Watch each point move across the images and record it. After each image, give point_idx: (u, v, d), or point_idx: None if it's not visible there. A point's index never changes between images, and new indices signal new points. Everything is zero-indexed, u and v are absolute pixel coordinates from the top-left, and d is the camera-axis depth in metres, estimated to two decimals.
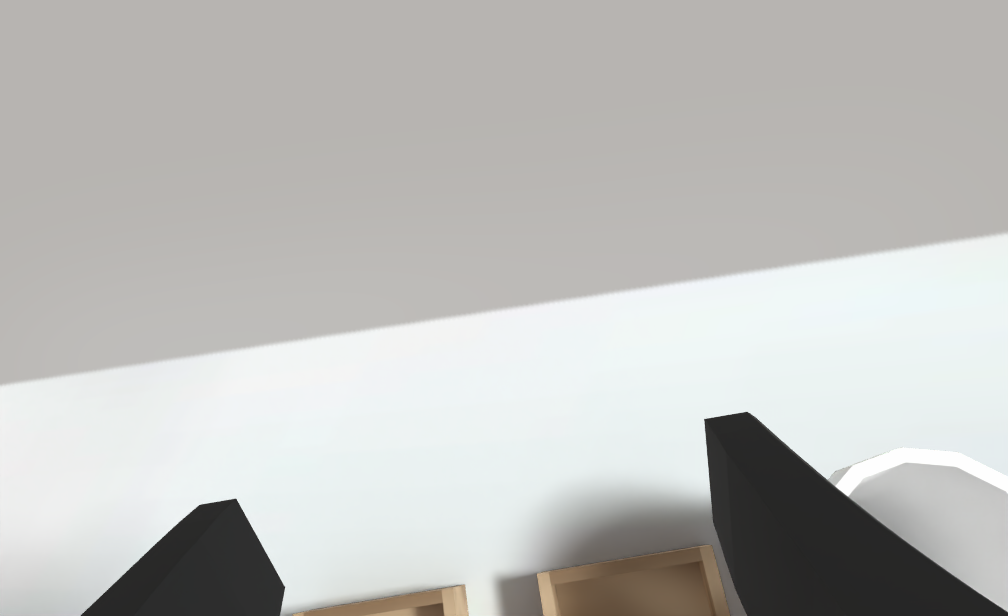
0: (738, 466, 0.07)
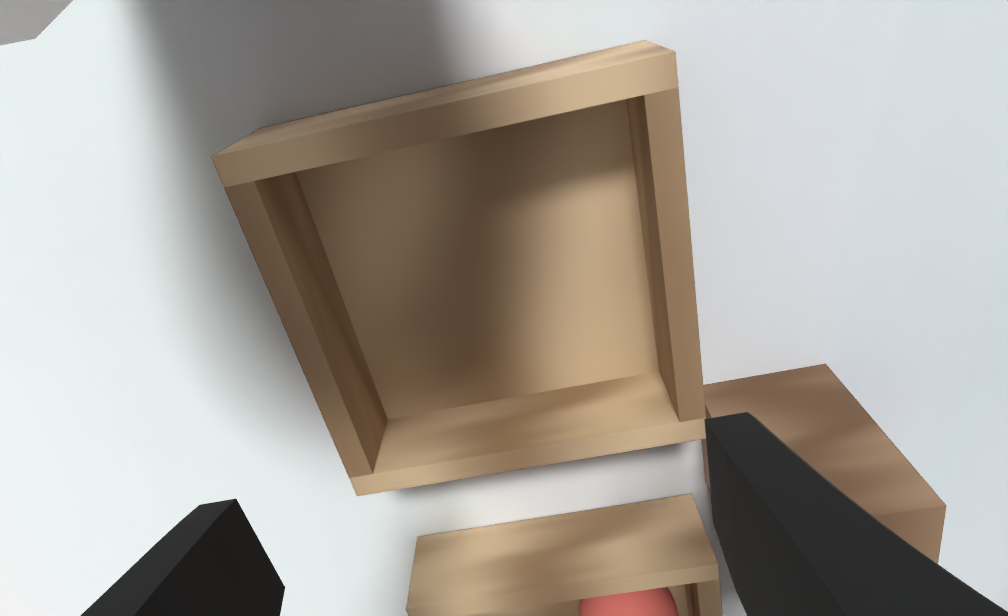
0: (738, 466, 0.07)
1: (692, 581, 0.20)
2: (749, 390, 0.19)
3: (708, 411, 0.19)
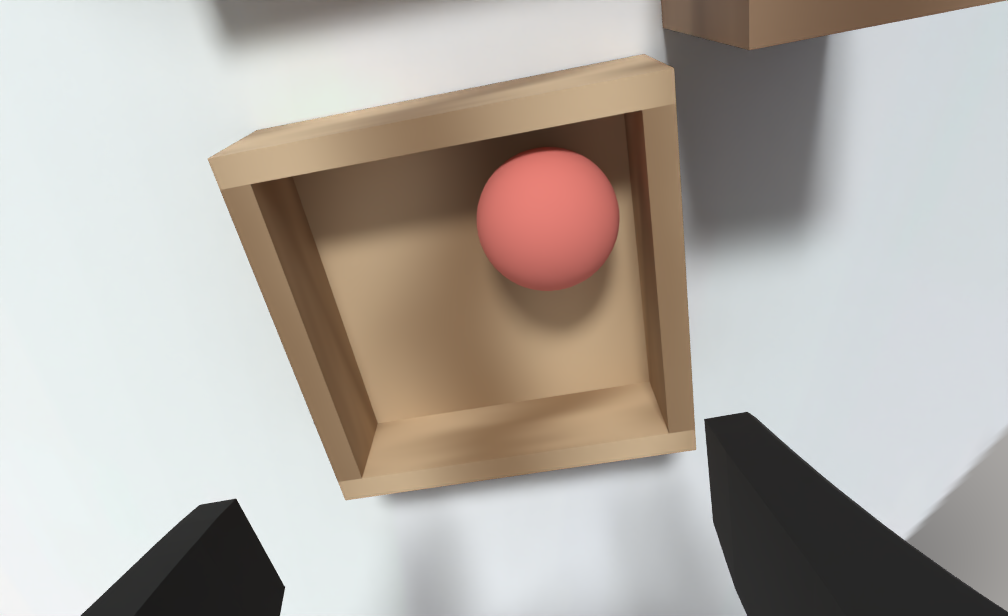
0: (738, 466, 0.07)
1: (635, 107, 0.13)
2: None
3: None
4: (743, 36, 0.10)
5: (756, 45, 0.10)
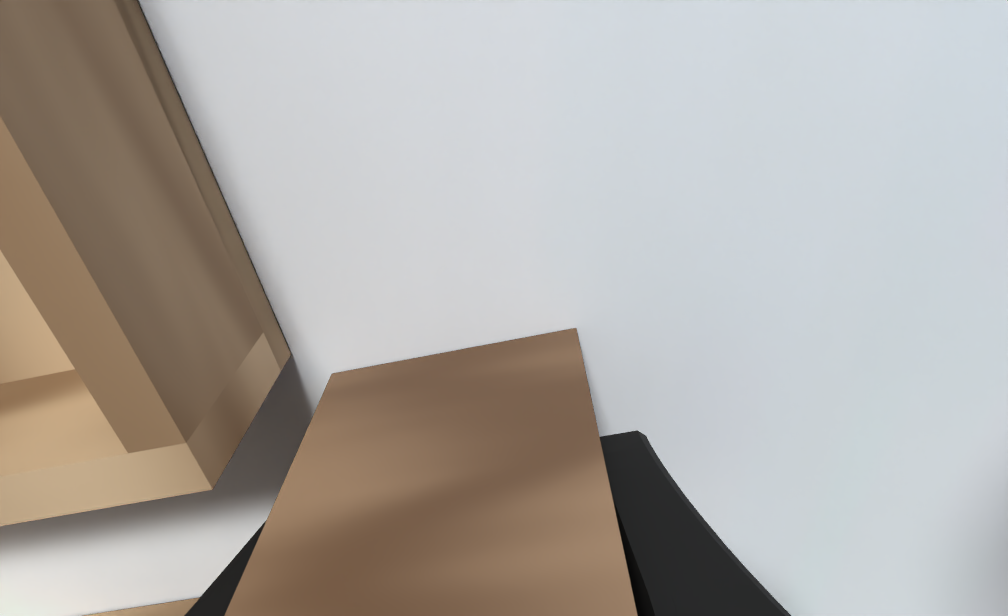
0: (610, 487, 0.08)
1: None
2: (410, 383, 0.09)
3: (312, 425, 0.09)
4: None
5: None
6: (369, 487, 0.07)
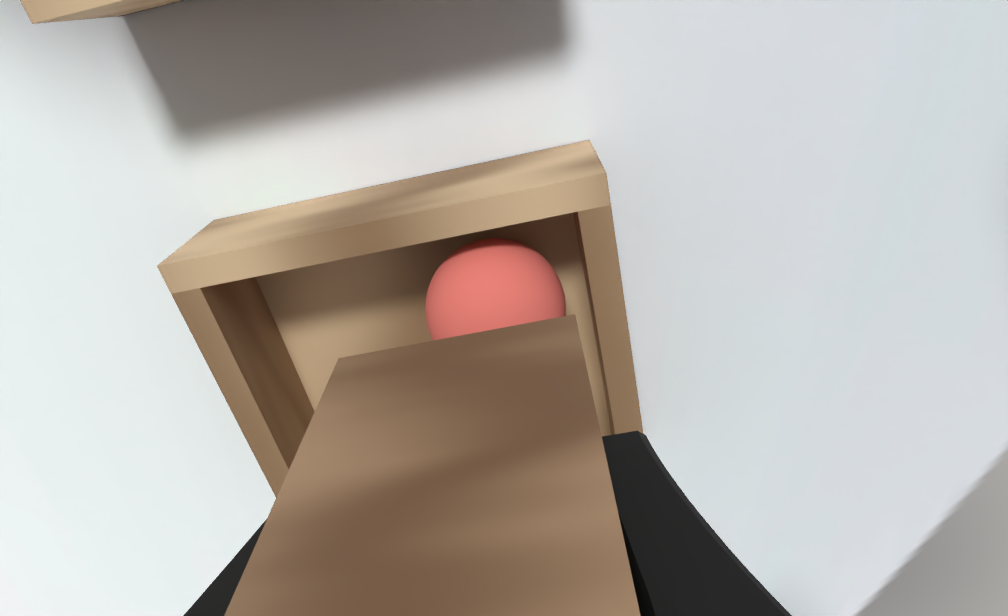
0: None
1: (571, 209, 0.13)
2: (414, 366, 0.10)
3: (320, 406, 0.09)
4: None
5: None
6: (376, 462, 0.08)
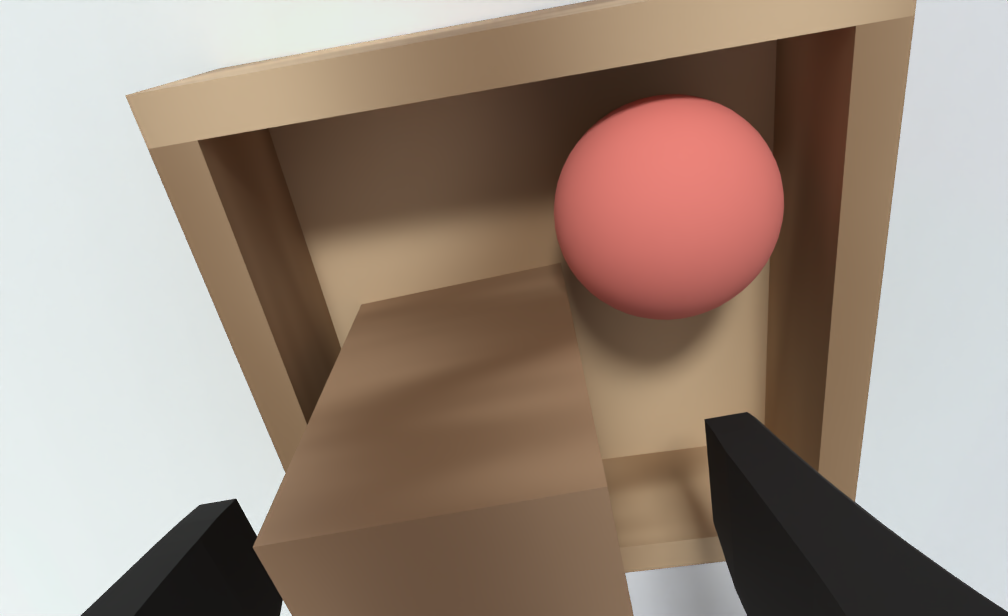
0: (738, 466, 0.07)
1: (845, 21, 0.08)
2: (426, 306, 0.12)
3: (348, 339, 0.11)
4: None
5: None
6: (397, 372, 0.10)
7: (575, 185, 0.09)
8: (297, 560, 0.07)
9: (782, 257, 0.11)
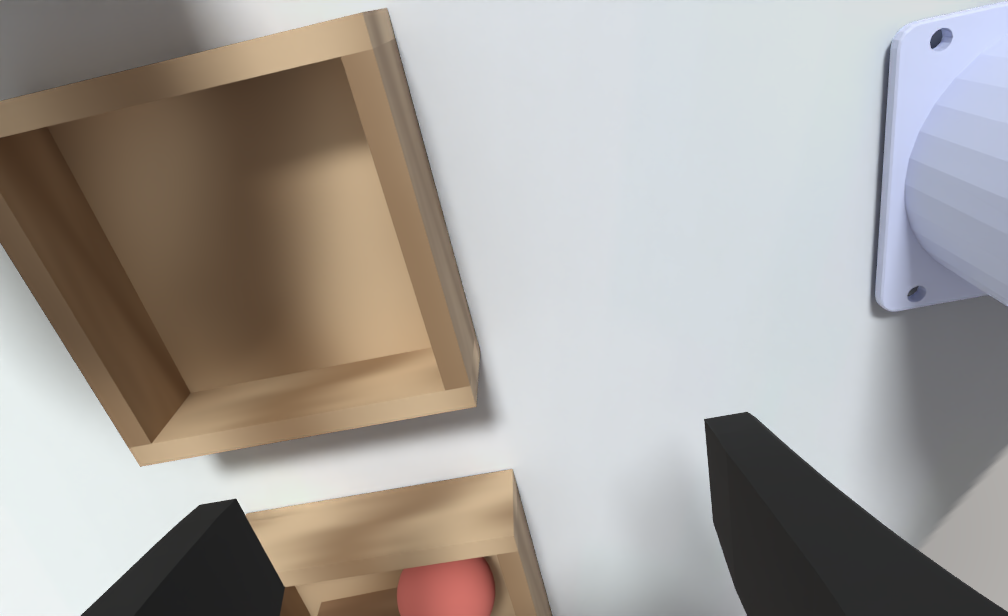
0: (738, 466, 0.07)
1: (492, 553, 0.20)
2: (350, 612, 0.24)
3: None
4: None
5: None
6: None
7: (400, 597, 0.21)
8: None
9: None
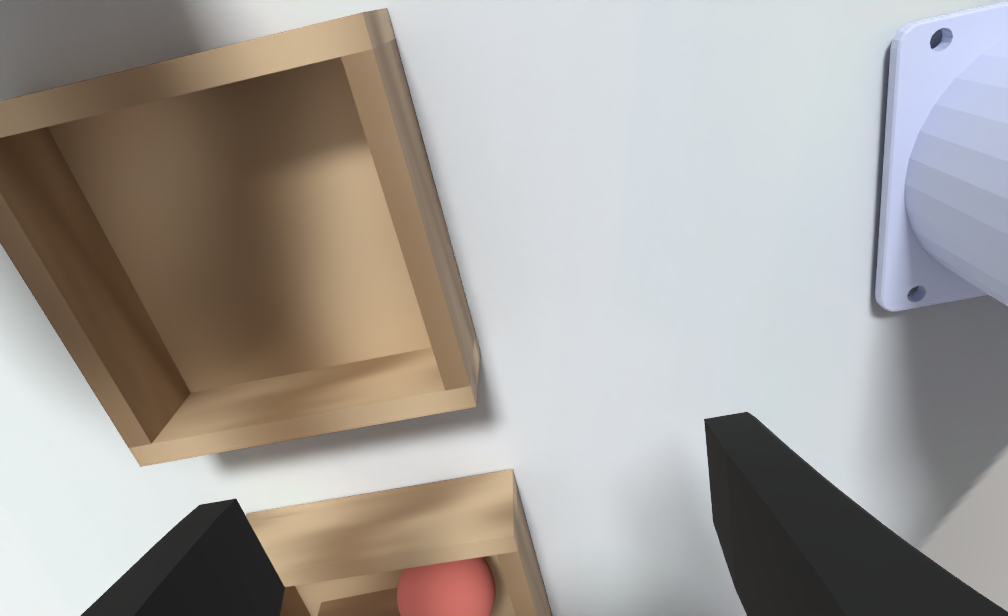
0: (738, 466, 0.07)
1: (492, 553, 0.20)
2: (351, 612, 0.24)
3: None
4: None
5: None
6: None
7: (400, 597, 0.21)
8: None
9: None
